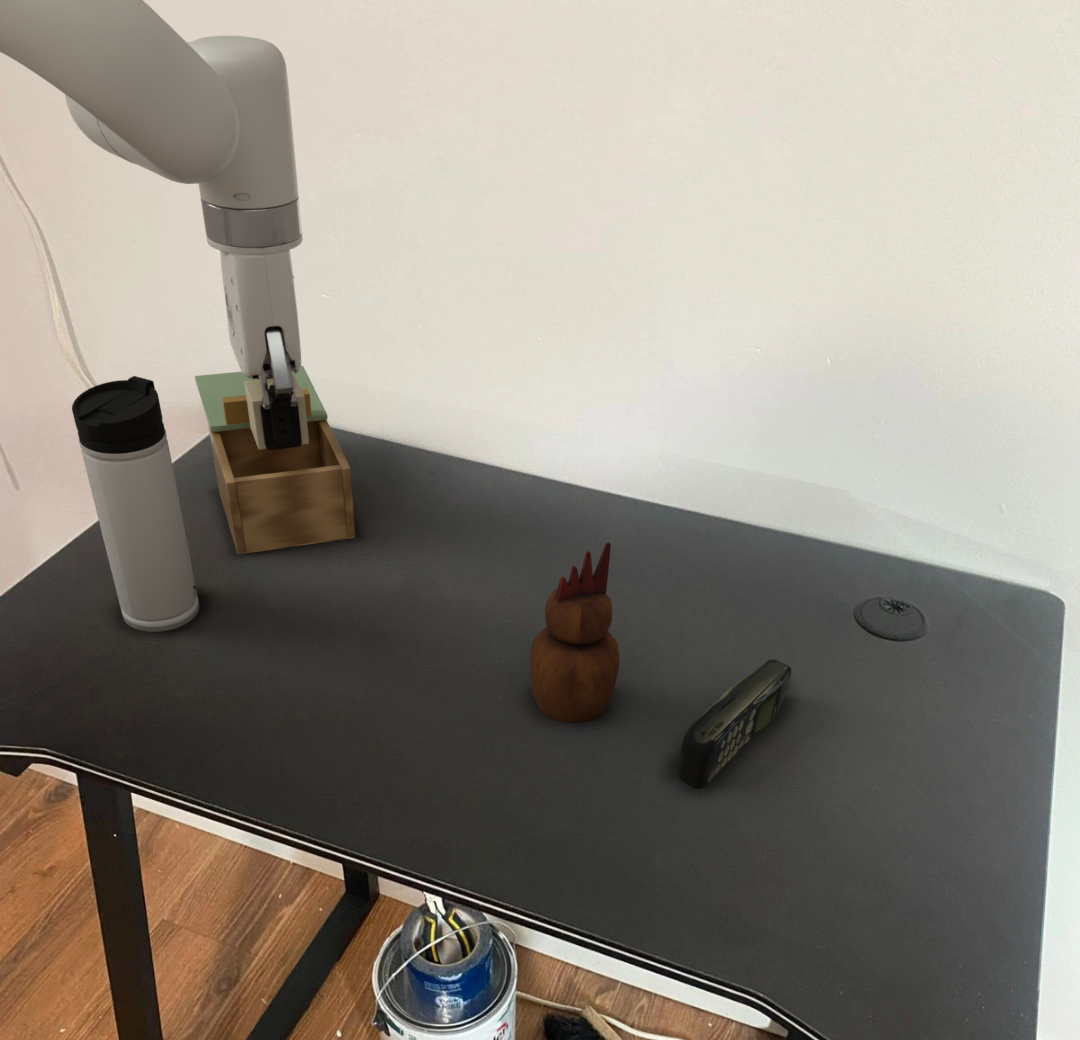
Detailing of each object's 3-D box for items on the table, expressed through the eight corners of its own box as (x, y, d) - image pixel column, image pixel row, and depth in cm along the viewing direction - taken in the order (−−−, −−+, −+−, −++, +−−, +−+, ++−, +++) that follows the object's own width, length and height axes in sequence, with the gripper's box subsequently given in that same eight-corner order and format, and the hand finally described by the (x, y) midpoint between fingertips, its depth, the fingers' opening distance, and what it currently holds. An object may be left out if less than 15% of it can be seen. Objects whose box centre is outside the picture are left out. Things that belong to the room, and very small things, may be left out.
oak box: (238, 561, 99) (226, 482, 93) (220, 499, 107) (208, 424, 102) (355, 544, 102) (350, 467, 97) (329, 485, 110) (323, 411, 105)
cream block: (258, 449, 95) (252, 401, 92) (250, 428, 98) (244, 380, 95) (309, 443, 96) (304, 396, 93) (299, 422, 99) (294, 375, 96)
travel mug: (218, 606, 93) (178, 385, 80) (167, 646, 88) (117, 418, 75) (160, 587, 95) (112, 368, 82) (108, 625, 90) (48, 399, 77)
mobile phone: (712, 753, 74) (809, 651, 84) (675, 734, 76) (775, 635, 85) (702, 802, 78) (797, 699, 87) (667, 783, 79) (764, 683, 88)
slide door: (211, 432, 100) (206, 404, 98) (195, 381, 108) (190, 354, 107) (327, 419, 103) (325, 392, 102) (303, 371, 112) (301, 344, 110)
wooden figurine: (610, 689, 87) (629, 527, 77) (614, 736, 83) (635, 571, 73) (527, 686, 87) (536, 523, 77) (527, 732, 82) (536, 567, 73)
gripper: (191, 193, 90) (223, 400, 102) (219, 258, 78) (251, 483, 90) (281, 189, 92) (302, 392, 104) (321, 251, 80) (339, 472, 92)
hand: (278, 432), depth 97 cm, fingers closed on cream block, 4 cm apart
